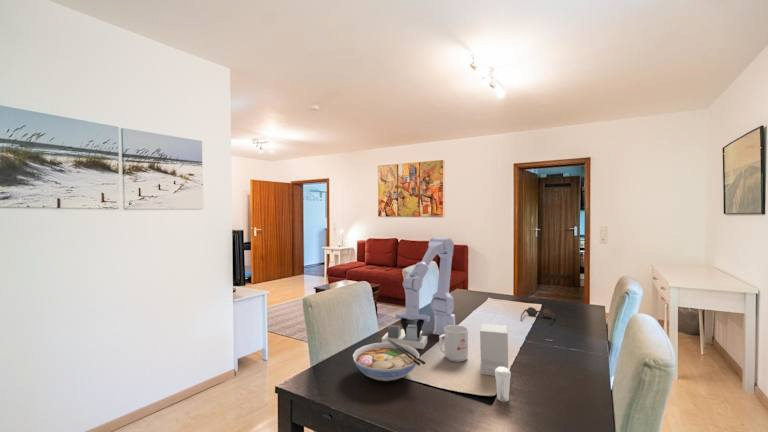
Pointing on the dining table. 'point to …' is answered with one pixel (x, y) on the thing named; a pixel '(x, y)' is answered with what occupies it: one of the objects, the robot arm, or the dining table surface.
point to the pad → (404, 332)
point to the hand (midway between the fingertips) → (412, 336)
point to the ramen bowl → (386, 360)
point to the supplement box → (493, 348)
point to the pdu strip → (402, 338)
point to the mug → (455, 343)
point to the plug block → (411, 333)
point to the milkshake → (502, 383)
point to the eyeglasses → (544, 313)
